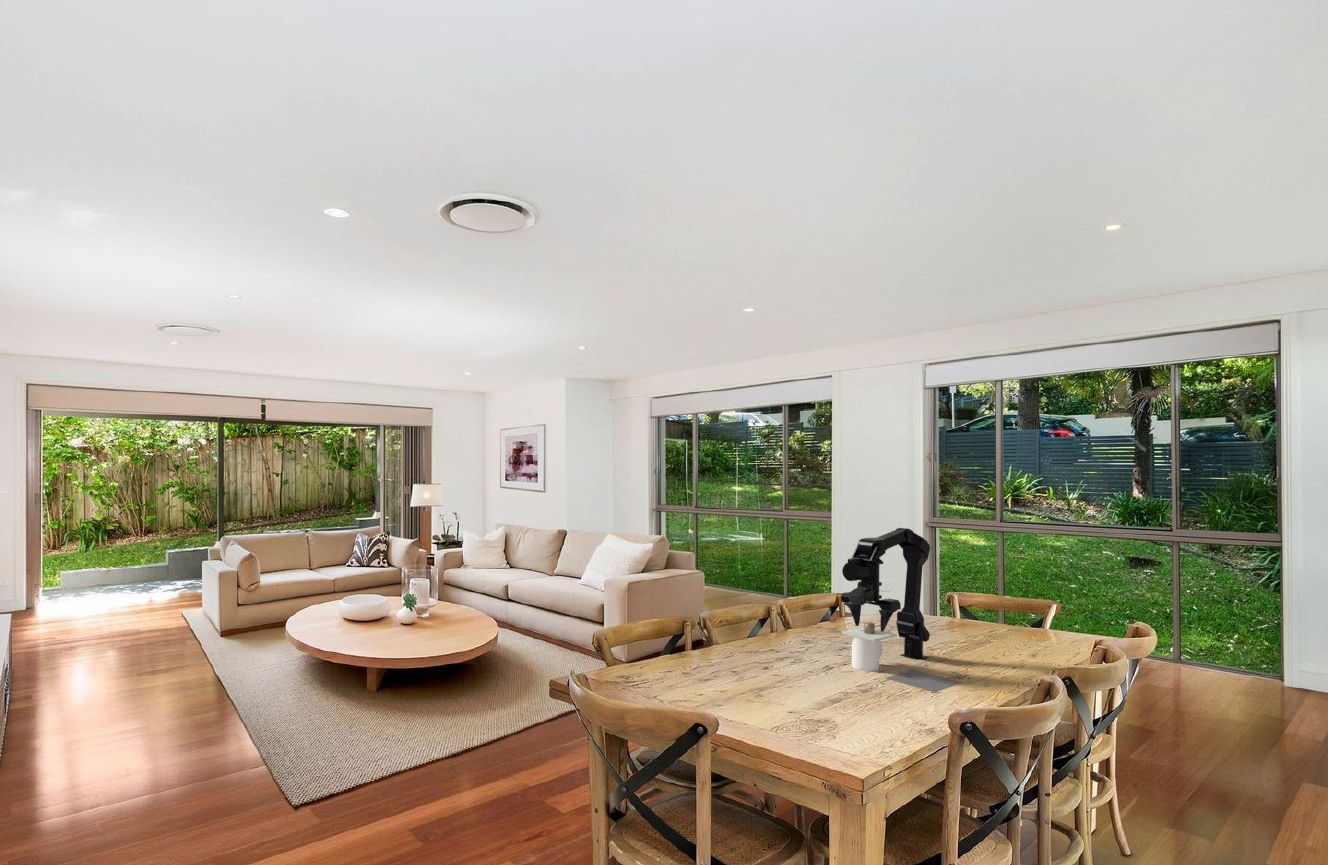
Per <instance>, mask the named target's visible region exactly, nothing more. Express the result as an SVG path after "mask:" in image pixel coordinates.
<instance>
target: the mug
mask: <svg viewBox="0 0 1328 865" xmlns="http://www.w3.org/2000/svg"><path fill="white" fill-rule="evenodd" d="M882 653H883V644H882V640H878V641H872V640H867V639H863V638H859V637H855V636H851V666H852V668H853V669H855V670H859V671H864V672H877V671H879V670H880V659H881V657H882Z"/></svg>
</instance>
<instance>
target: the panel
mask: <svg viewBox="0 0 1328 865" xmlns="http://www.w3.org/2000/svg"><path fill="white" fill-rule="evenodd" d="M841 634H843V635H846V636H847V635H848V636H851V637H852V636H855V637H859V638H863V639H867V640H872V641H878V640H880V641H882V640H886V639H891V638H896V637H897V636H898V635H897V633H893V632H890V631H889V632H887V631H885V630H884V631H883V632H881V629H876V628H875V622H868V621H866V622H865V621H864V622H863V626H862V627H859V628H854V629H853V628H852V629H848V630H843V631H841Z"/></svg>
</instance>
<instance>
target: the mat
mask: <svg viewBox="0 0 1328 865" xmlns="http://www.w3.org/2000/svg"><path fill="white" fill-rule="evenodd" d="M885 679H886V680H889V681H894V682H897V683H900V684H904V685H908V686H910V687H915V688H917V689H922V690H925V691H929V692H932V693H938V692H940V691H943V690H945V689H948V688H949V689H950V688H952V687H954V686H958V685H960V684H963V683H964V682H963V681H960V680H956V679H953V678H949V677H944V676H940V675H936V674H933V673H929V672H925V671H923V670H917V669H910V670H907V671H904V672H900V673H897V674H894V675H891V676H887V677H885Z"/></svg>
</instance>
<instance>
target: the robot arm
mask: <svg viewBox="0 0 1328 865" xmlns="http://www.w3.org/2000/svg"><path fill="white" fill-rule="evenodd" d="M895 546H899V547H900V548H901V549H902V557H903V558H904V560H905V563H906V575H905V589H904V590H905V591H904V602H903V608H901V606H902V604H901V601H900V600H899V599H894V598H883V596H882V595H881V594H880V586H881V587H882V586H883V583H882V582H880V565H884V561H883V560H882V559H881V557H882V556H884V555H885V554H886V552H887V550H888V549H891V548H893V547H895ZM930 550H931V546H930V543H928V541H927V540H926V539H925V538H924V537H923V536H921V535H919V534H917V533H915V531H913V530H912V529H911V528H906V527H905V528H904V527H898V528H896V529H895V530H892V531H889V532H887V533H885V534H883V535H879V536H877V537H864V538H860V539H859V541H858V543H857V544H856V547H855V548H854V551H853V553H852V555H851V558H848V559H847V562H846V563H844V564H843V567H842V571H841V572H842V575H843V577H844V579H845V580H847V581H848V582H854V581H855V582H856V581H858V582H857V587H856V588H854V589H852V590H851V591H848V592H847V591H845V592H842V593H841V595H840V602H841V603H843V605H844V606H846V607H847V608H848V609H849V610H850V612H851V615H852V618H853V621H854V623H855V626H856V627H859V626H860V622H861V612H862V606H864V605H865V604H868V605H872V606H873V605H874V606H878V607H879V609H878V612H879V615H880V631H881V632H883V631H884V632H885V630H886V628H887V626H888V623H889V621H890V619H891V618H892V616H893V614H894V613H896V612H897V613H896V621H895V624H896V630H897V633H898V638H904V642H903V644H904V645H903V648H904V650H903V653H902V654H900V657H904V658H909V659H912V660H916V661H917V660H924V659H927V658H928V656H927V655H924V642H928V641H929V640H930V637H931V636H930V635H931V634H930V632H929V630H928V629H927V627H926V625H925V618H924V615H923V613H922V611H921V609H920V607H921V595H922V592H921V591H922V580H923V566H924V565H925V564H926V563H927V561H928V560H929V556H930ZM882 598H883V599H882ZM899 610H900V611H899Z"/></svg>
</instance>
